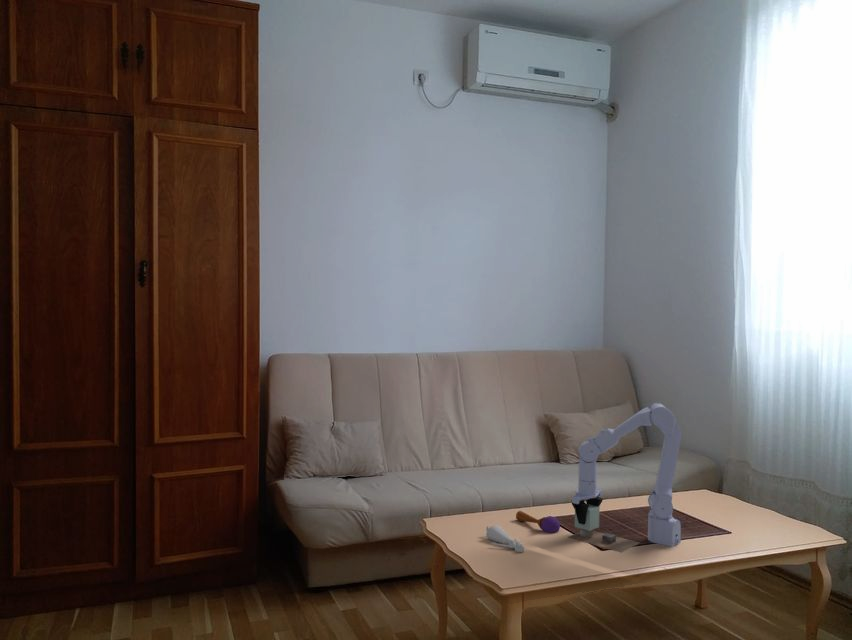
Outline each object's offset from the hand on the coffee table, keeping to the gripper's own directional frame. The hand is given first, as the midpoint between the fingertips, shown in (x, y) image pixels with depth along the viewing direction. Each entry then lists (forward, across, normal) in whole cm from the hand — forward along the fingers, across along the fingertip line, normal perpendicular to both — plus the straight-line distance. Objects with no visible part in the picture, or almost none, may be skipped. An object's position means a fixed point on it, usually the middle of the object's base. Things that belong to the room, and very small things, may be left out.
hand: (586, 521), depth 226 cm
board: (+6, 0, +6) cm, 8 cm away
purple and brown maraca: (+6, +2, -18) cm, 19 cm away
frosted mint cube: (+2, 0, 0) cm, 2 cm away
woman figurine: (+6, +22, -16) cm, 28 cm away
